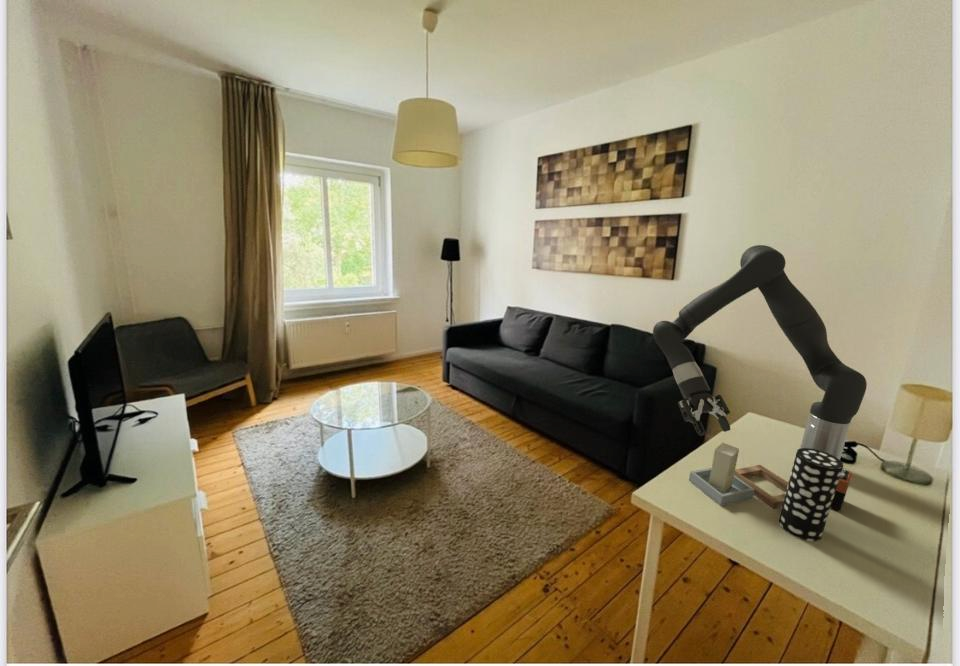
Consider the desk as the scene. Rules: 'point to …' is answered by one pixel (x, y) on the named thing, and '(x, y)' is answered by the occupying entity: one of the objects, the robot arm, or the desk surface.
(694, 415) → the robot arm
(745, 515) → the desk surface
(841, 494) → the battery
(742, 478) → the brown flat rectangular frame
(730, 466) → the skincare box
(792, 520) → the white-spotted black cylinder
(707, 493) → the tray
